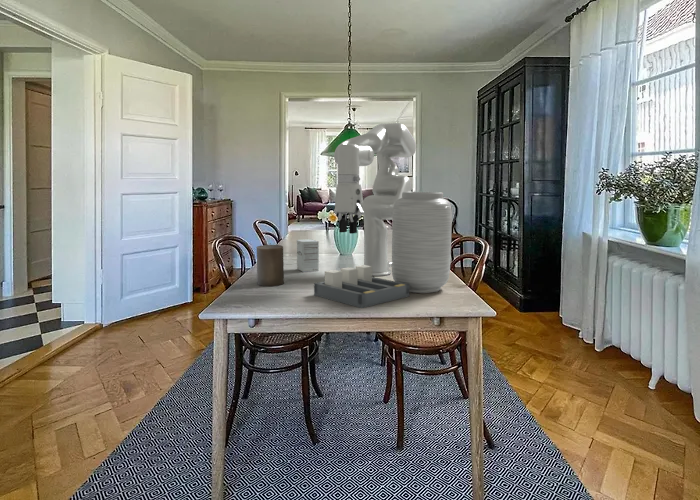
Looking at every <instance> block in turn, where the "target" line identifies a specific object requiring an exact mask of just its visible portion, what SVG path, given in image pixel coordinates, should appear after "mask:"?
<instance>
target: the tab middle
mask: <svg viewBox="0 0 700 500" xmlns="http://www.w3.org/2000/svg"><path fill="white" fill-rule="evenodd" d="M340 271H342V282H346V283H350V284H355V285H357V284H358V269H356V267H344V268H340Z"/></svg>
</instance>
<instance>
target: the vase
mask: <svg viewBox="0 0 700 500" xmlns="http://www.w3.org/2000/svg"><path fill="white" fill-rule="evenodd" d="M452 220H453V211H452V204H451V202H450V201H449V200H448V199H446V198H444V192H439V191H411V192H403V193H402V198H401V199H399V200H397V201H396V202H395V204H394V207H393V220H392V229H391V231H392V233H391V234H392V235H391V262H392V267H391V275H392V279H393V281H395V282H400V283H405V284H410V287H409V293H418V294H429V293H436V292H439V291H441V289H442V287H444V286H445V285H446V284H447V282H448V281H449V279H450V271H451V255H452V251H451V250H452V225H453V223H452V222H453V221H452Z"/></svg>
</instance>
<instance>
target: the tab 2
mask: <svg viewBox="0 0 700 500" xmlns="http://www.w3.org/2000/svg"><path fill="white" fill-rule="evenodd" d="M355 269H358V279H360V280H365V281H370V282H372V277H373V276H372V266H367V265H364V264H363V265H361V264H360V265H356V266H355Z"/></svg>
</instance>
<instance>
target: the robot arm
mask: <svg viewBox="0 0 700 500" xmlns="http://www.w3.org/2000/svg"><path fill="white" fill-rule="evenodd" d="M416 151H417V143H416V140H415V138H414V136H413V135H412V133H411V132H410V130H409V128H408V127H407V126H406V125H405V124H403V123H401V122H391V123H389V122H388V123H379V124H377V125H375V126H374V127H373V128H371V129H370V130H368V131H367V132H365V133H363V134H360V135H357V136H354V137H351V138H348V139H346V140H344V141H342V142H341V143H340V144H338V146H336V148H335V151H334V154H333V159H334V161H335V163H336V164H337V183H336V189H335V197H334V209H333V213H334V214H335V216H336V217H337V221H339V223H338V225H339V228H338V229H339V233H347V232H348V233H349V234H351V235H352V234H357V233H358V222H359V219H360V218H361V217H363V224H364V225H363V229H364V230H363V231H364V232H363V236H364V237H363V238H364V239H363V243H364V244H363V256H364V257H363V265H367V266H372V277H377V276H378V277H379V276H380V277H382V276H388V275H390V274H391V275H392V269H390V268H392V261H391V262H390V261H388V247H389V245H388V244H389V238H388V236H389V231H388V227H387V225H386V223H385V222H384V220H387V221H388V220H389V221H390V220H391V221H393V207H394V204H395V202H396V201H397V200H399V199H401V198H402V193H403V192H412V180H411V178H410V177H408V176H407V175H404V174H401V175H400V174H399V171H400V170H399V167H398V166H397V164H396V162H394V160H392V158H410V157H413V156H414V154H415V153H416ZM375 155H376V160H377V164H378V168H377V172H376V175H375V178H374V181H373V185H372V189H371V191H372V195H368V196H366V197H364V198H363V190H362V185H361V184H360V180H361V178H360V167H367V166H369V165H371V164H372V163H373V161H374V159H375ZM347 214H349V219H350V221H349V223H348V220H347V216H348V215H347Z"/></svg>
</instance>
